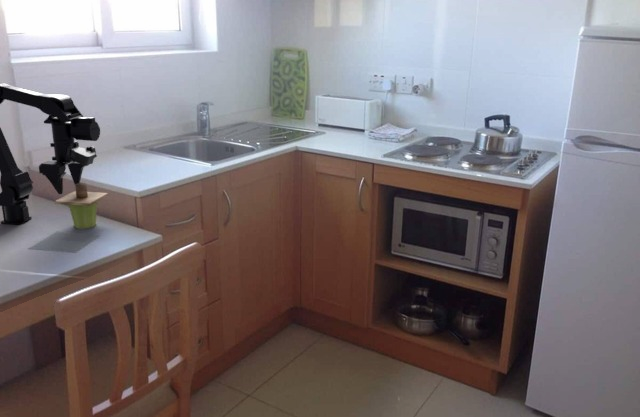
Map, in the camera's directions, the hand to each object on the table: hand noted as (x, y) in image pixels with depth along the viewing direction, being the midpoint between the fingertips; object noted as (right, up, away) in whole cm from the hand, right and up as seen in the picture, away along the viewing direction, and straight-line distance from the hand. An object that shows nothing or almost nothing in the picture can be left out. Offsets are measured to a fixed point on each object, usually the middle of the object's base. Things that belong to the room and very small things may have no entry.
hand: (69, 189), depth 174 cm
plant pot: (+4, -11, +3) cm, 12 cm away
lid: (+4, -3, 0) cm, 5 cm away
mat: (+4, -15, -10) cm, 19 cm away
